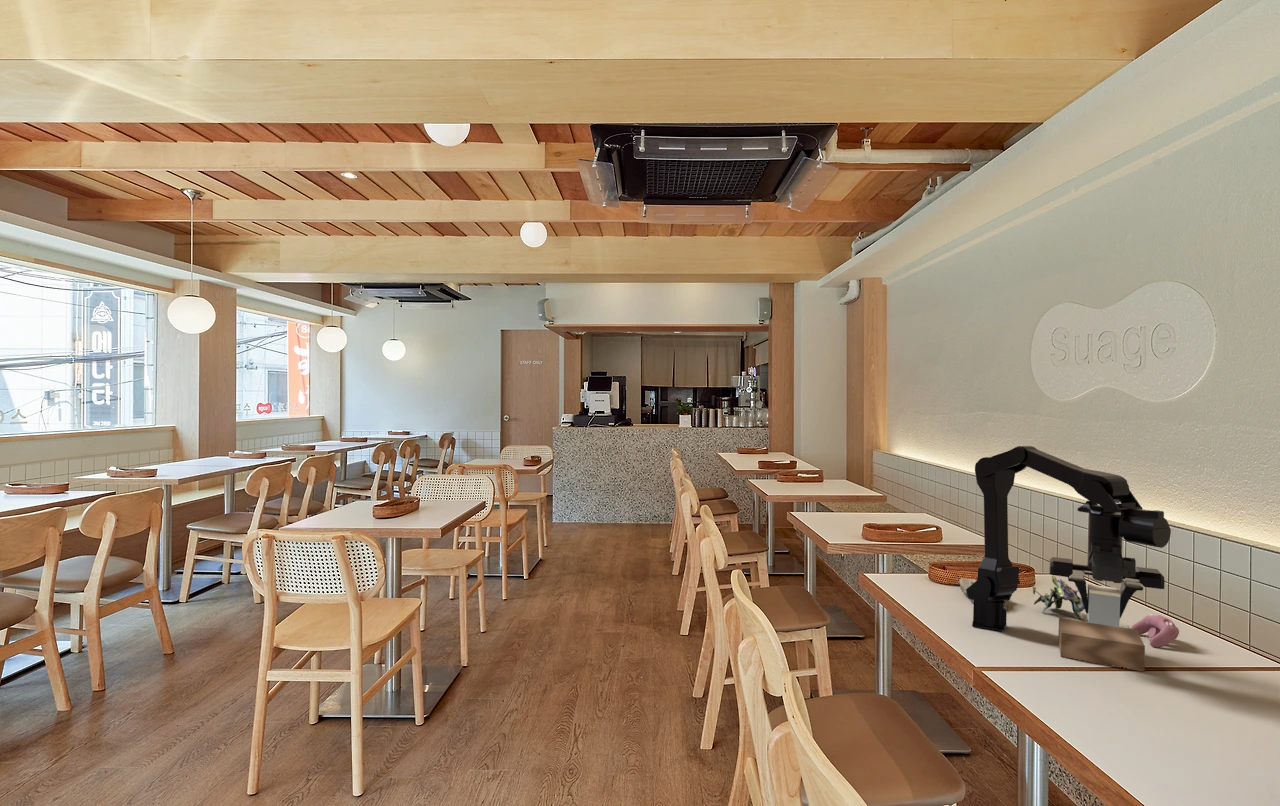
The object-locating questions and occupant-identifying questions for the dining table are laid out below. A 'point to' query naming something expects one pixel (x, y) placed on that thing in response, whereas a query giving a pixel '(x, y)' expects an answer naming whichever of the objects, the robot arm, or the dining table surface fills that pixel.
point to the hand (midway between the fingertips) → (1102, 615)
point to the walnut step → (1101, 644)
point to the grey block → (1103, 605)
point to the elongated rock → (965, 584)
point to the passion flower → (1061, 597)
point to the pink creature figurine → (1157, 629)
